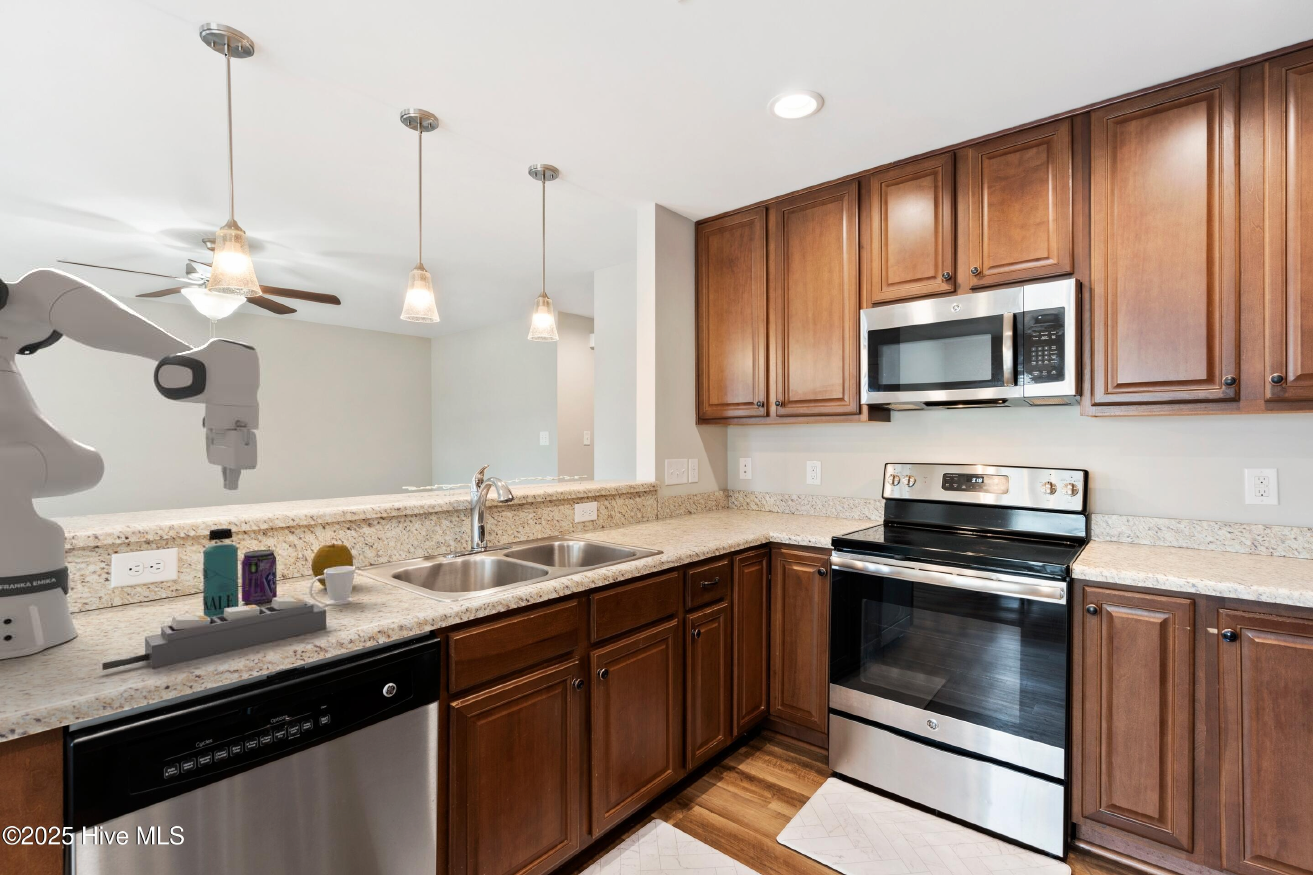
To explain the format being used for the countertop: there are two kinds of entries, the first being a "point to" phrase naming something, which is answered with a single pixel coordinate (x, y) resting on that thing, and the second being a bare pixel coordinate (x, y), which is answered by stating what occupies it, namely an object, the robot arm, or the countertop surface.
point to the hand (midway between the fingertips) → (230, 489)
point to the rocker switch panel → (226, 635)
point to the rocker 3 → (287, 603)
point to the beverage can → (258, 576)
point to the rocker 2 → (241, 612)
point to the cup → (337, 584)
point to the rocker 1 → (189, 621)
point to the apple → (330, 559)
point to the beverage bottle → (220, 574)
